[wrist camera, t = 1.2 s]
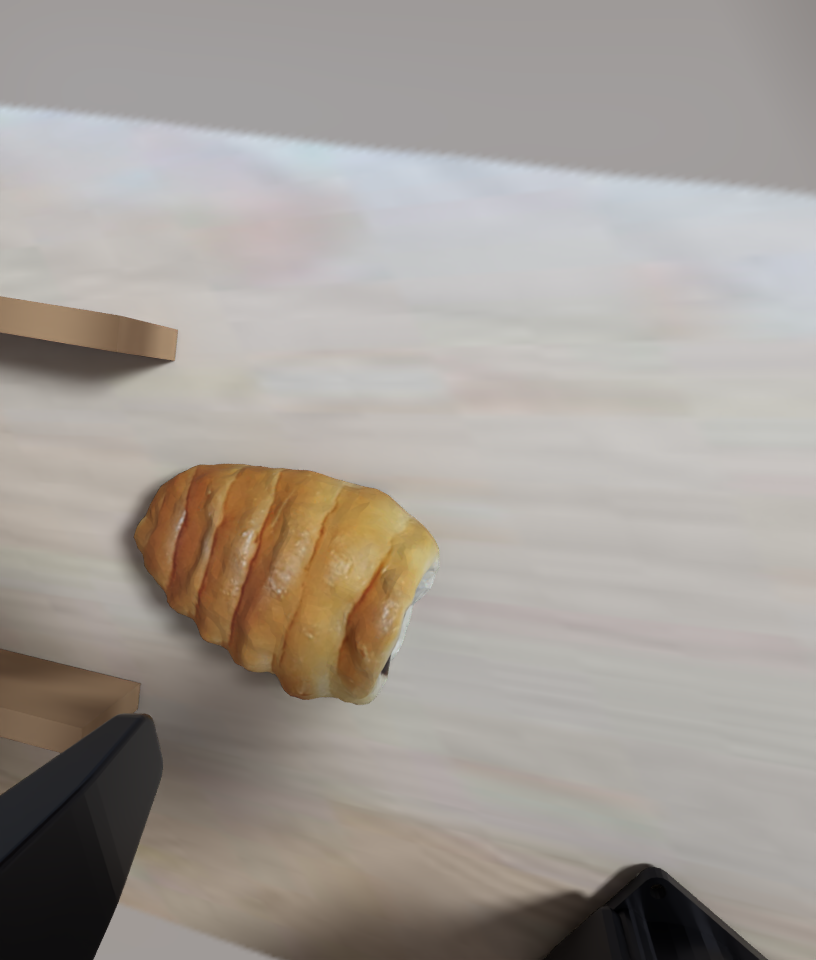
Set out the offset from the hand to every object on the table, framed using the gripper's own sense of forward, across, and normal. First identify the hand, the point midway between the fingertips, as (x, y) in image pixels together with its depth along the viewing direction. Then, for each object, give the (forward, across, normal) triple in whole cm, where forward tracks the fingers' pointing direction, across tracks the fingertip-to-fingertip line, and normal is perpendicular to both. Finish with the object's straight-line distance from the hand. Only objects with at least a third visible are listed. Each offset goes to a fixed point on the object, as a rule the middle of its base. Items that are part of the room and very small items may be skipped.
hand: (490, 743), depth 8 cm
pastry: (+12, +5, +4) cm, 13 cm away
